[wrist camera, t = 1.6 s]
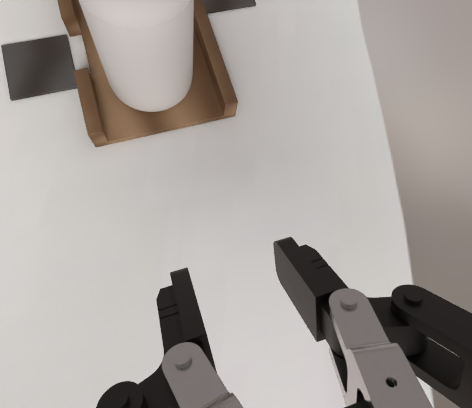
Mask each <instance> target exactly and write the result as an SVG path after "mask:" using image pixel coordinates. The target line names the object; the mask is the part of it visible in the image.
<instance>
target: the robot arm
mask: <svg viewBox="0 0 472 408" xmlns="http://www.w3.org/2000/svg"><path fill="white" fill-rule="evenodd" d="M274 254H275V264H276V272H277V275H278V278H279V281H280V283H281V285H282V286H283V288H284V289H285V291H286V293H287V294H288V296H289V298H290V299H291V301H292V302H293V304H294V306H295V307H296V309H297V311H298V312H299V314H300V315H301V317H302V319H303V320H304V322H305V324H306V325H307V327H308V328H309V330H310V332H311V333H312V335H313V336H314V338H315V340H316V341H317V342H318V341H321V340H324V339H326V341H327V342H328V344H329V353H330V356H331V360H332V363H333V366H334V369H335V372H336V375H337V378H338V381H339V384H340V387H341V390H342V394H343V397H344V400H345V405H346V407H345V408H433V407H432V405H431V404H430V402H429V400H428V398H427V396H426V394H425V392H424V390H423V388H422V387H421V385H420V383H419V381H418V379H417V377H418V378H420V379H421V380H423V381H424V382H425V383H427V384H428V385H430V386H431V387H432V388H434V389H435V390H437V391H438V392H440V393H441V394H442V395H444V396H445V397H446V398H448V399H449V400H451V401H452V402H453V403H455V404H456V405H457V406H459V407H460V408H472V313H470V312H468V311H466V310H464V309H462V308H460V307H458V306H456V305H454V304H452V303H450V302H449V301H447V300H445V299H443V298H441V297H439V296H437V295H435V294H433V293H431V292H429V291H427V290H426V289H424V288H421V287H419V286H415V285H401V286H398V287H397V288H395V289H394V290H393V292H392V296H391V297H380V298H368V297H366V296H365V295H364V294H363V293H361V292H359V291H357V290H354V289H349V288H348V287H347V286H346V285H345V283H344V282H343V281H342V280H341V279H340V278H339V276H338V275H337V274H336V273H335V272H334V271H333V269H332V268H331V267H330V266H328V264H327V262H326V261H325V260H324V259H323V258H322V256H321V255H320V254H319V253H318V252H317V251H316V250H315V249H313V248H311V247H309V246H307V245H303V246H300V247H299V246H298V245H297V243H296V242H295V241H294V239H293V238H292V237H288V238H285V239H281V240H278V241H275V242H274ZM170 275H171V280H172V284H173V285H172V286H169V287H165V288H162V289H160V291H159V294H158V297H157V306H158V313H159V319H160V327H161V333H162V340H163V347H164V357H163V360H162V363H161V365H160V366H159V368H158V369H157V370H156V371H155V372H154V373H153V374H152V375H151V376H149V377H148V378H146V379H145V380H144V381H142V382H141V383H139V384H136V383H134V382H131V381H125V382H120V383H118V384H115V385H114V386H112V387H111V388H109V389H108V390H107V391H106V392H105V393H104V394H103V395H102V397H101V398H100V400H99V402H98V404H97V407H96V408H243V407H242V405H241V404H240V402H239V400H238V399H237V398H236V396H235V395H234V394H233V393H229V392H228V390H227V389H226V387H225V386H224V384H223V383H222V381H221V379H220V378H219V376H218V375H217V372H216V368H215V364H214V361H213V357H212V353H211V349H210V345H209V342H208V338H207V334H206V331H205V327H204V324H203V320H202V317H201V313H200V310H199V306H198V303H197V299H196V296H195V292H194V289H193V285H192V282H191V278H190V275H189V271H188V268H184V269H181V270H177V271H174V272H171V273H170ZM429 338H431V339H433V340H434V341H436V342H437V343H439V344H441V345H442V346H444V347H446V348H447V349H449V350H450V351H452V352H454V353H455V354H457V355H458V356H459V357H458V356H456V355H455V354H453V353H451V352H450V351H448V350H446V349H445V348H443V347H442V346H440V345H438V344H437V343H435V342H434V341H432V340H430V339H429ZM416 376H417V377H416Z"/></svg>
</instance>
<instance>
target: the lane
mask: <svg viewBox="0 0 472 408" xmlns="http://www.w3.org/2000/svg"><path fill="white" fill-rule="evenodd" d="M58 4H59V9H60V13H61V17H62V19H63V22H64V24H65V26H66V28H67V30H68V33H69V35H70V36H76V35H82V37H83V41H84V45H85V49H86V54H87V58H88V62H89V66H90V70H91V74H92V77H91V75H90V73H89V71H88V68H84V69H79V70H75V69H74V65H73V60H72V56H71V52H70V47H69V43H68V38H67V36H66V35H62V36H56V37H50V38H44V39H38V40H32V41H26V42H20V43H14V44H7V45H1V47H2V53H3V59H4V65H5V71H6V76H7V82H8V88H9V94H10V99H11V100H12V101H13V100H18V99H23V98H29V97H34V96H39V95H44V94H49V93H55V92H60V91H65V90H70V89H75V88H78V93H79V97H80V101H81V106H82V110H83V115H84V119H85V124H86V128H87V132H88V135H89V137H90V139H91V140H92V142H93V143H94V145H95V147H99V146H104V145H108V144H112V143H117V142H121V141H126V140H130V139H135V138H139V137H144V136H148V135H153V134H157V133H161V132H166V131H170V130H175V129H179V128H184V127H188V126H193V125H197V124H201V123H206V122H210V121H215V120H219V119H224V118H228V117H233V116H235V114H236V109H237V104H238V101H237V98H236V95H235V92H234V89H233V86H232V84H231V81H230V78H229V75H228V72H227V69H226V67H225V64H224V61H223V58H222V55H221V52H220V50H219V47H218V44H217V41H216V38H215V35H214V32H213V30H212V27H211V24H210V21H209V18H208V15H207V14H208V13H214V12H220V11H226V10H233V9H239V8H245V7H251V6H255V5H256V2H255V0H194V20H193V78H192V83H191V86H190V89H189V91H188V93H187V95H186V96H185V97H184V98H183V99H182V100H181V101H180V102H179V103H178V104H177V105H175V106H173V107H171V108H169V109H166V110H163V111H158V112H145V111H140V110H137V109H134V108H132V107H130V106H128V105H126V104H125V103H123V102H122V101H121V100H120V99H119V98H118V97H117V96H116V95H115V93H114V92H113V90H112V88H111V87H110V85H109V82H108V80H107V77H106V74H105V71H104V69H103V66H102V63H101V60H100V58H99V55H98V52H97V49H96V47H95V44H94V41H93V38H92V36H91V33H90V30H89V27H88V25H87V22H86V19H85V16H84V14H83V11H82V8H81V5H80V3H79V0H58ZM92 79H93V80H92Z"/></svg>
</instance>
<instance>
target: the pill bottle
mask: <svg viewBox="0 0 472 408" xmlns="http://www.w3.org/2000/svg"><path fill="white" fill-rule="evenodd" d="M79 3H80V5H81V8H82V11H83V14H84V16H85V19H86V22H87V25H88V27H89V30H90V33H91V36H92V38H93V41H94V44H95V47H96V49H97V52H98V55H99V58H100V60H101V63H102V66H103V69H104V71H105V74H106V77H107V80H108V82H109V85H110V87H111V88H112V90H113V92H114V93H115V95H116V96H117V97H118V98H119V99H120V100H121V101H122V102H123V103H125V104H126V105H128V106H130V107H132V108H134V109H137V110H140V111H145V112H158V111H163V110H166V109H169V108H171V107H173V106H175V105H177V104H178V103H179V102H180V101H181V100H182V99H183V98H184V97H185V96H186V95H187V93H188V91H189V89H190V86H191V83H192V78H193V20H194V0H79Z"/></svg>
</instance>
